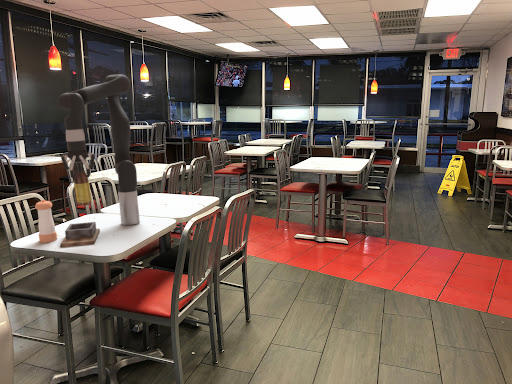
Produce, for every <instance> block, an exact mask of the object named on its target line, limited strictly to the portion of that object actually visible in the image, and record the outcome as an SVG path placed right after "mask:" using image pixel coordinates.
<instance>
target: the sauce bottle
mask: <svg viewBox="0 0 512 384" xmlns="http://www.w3.org/2000/svg"><path fill="white" fill-rule="evenodd" d="M84 169H85V168H84V164H83V162H74V167H73V170H74V179H73V178H72V179H73V180H72V182H73V185H74V186H73V187H74V193H75V199H76V203H77V205H78V206H80V207H86V206H90V205H91V204H92V203H93V202H92V199H93V198H92V193H91V189H90V188H91V187H90V182H89V177H87V172H85V170H84Z"/></svg>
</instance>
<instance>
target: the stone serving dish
mask: <svg viewBox="0 0 512 384" xmlns="http://www.w3.org/2000/svg"><path fill="white" fill-rule="evenodd" d="M100 232H101V230H100V228H99V227H98V228H97V223H96V221H89V222H78V223H70V224H69V225H68V226H67V227H66V229H65V230H64V234H65V236H64V238H63V239H62V240H61V242H60V244H59V245H60V248H65V247H66V248H67V247H76V246H78V247H79V246H86V245H88V246H89V245H95V244H96V241H97V239H98V238H99V237H98V236H99V235H100Z"/></svg>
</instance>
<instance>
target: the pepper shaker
mask: <svg viewBox="0 0 512 384" xmlns="http://www.w3.org/2000/svg"><path fill="white" fill-rule="evenodd" d="M52 207H53V203H52V202H51V201H49V200H45V199H41V201H38V202H36V204H35V206H34V208H35V209H36V210H37V215H38V226H37V227H38V232H39V233H38V239H39V240H38V241H39V243H45V244H46V243H53V242H55V241H57V240H58V235H57V231H56V228H55V227H56V226H55V222H54V218H53V214H52Z"/></svg>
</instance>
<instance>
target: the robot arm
mask: <svg viewBox="0 0 512 384" xmlns="http://www.w3.org/2000/svg"><path fill="white" fill-rule="evenodd" d="M130 89H131V81H130V79H129V77H128V76H127V75H125V74H110V75H107V76H106V77H105V79H104V82H103V83H102V82H101V83H98V84H97V83H96V84H92V85H89V86H86V87H83V88H80V89H78V90H73V91H68V92H63V93H62V94H61V95H59V96H58V98H57V104H58V106H59V107H60V109H62V110H65V111H69V114H68V115H67V116H65V117H64V126H65V141H66V147H67V154H66V155H62V156H61V157H60V158H61V159H60V160H61V162H62V164H63V167H64V168H63V169H65V170H67V171H69V174H70V178H72V179H74V174H75V169H74V162H83V166H85V169H86V170H85V171H86V172H85V173H86V174H87V177H88V178H90V176H91V174H92V173H91V169H92V168H93V167H94V166H95V153H88V151H87V144H86V138H85V136H86V135H85V131H84V125H83V115H84V108H85V105H90V104H92V103H94V102H97V101H99V100H103V99H104V98H106V100H107V105H108V111H109V118H110V119H109V121H110V122H109V123H110V129H111V136H112V144H113V148H114V149H113V150H114V170H115V173H116V174H117V178H118V179H117V180H118V185H117V193H118V203H119V214H120V215H119V216H120V222H121V223H120V224H121V225H123V226H132V225H133V226H134V225H137V224H140V220H141V218H140V209H139V200H138V199H139V198H138V187H137V186H138V177H137V176H138V175H137V173H138V172H137V167H136V165H135V163H134V162H132V160H131V153H130V152H131V151H130V146H131V145H130V144H131V134H132V133H131V130H132V129H131V124H130V119H129V117H128V115H127V113H126V112H125V111H124V109H123V107H122V105H121V102H120V97H119V95H122V94H123V95H124V94H126V93H128V92H129V91H130ZM88 157H89V159H90V164H89V163H88V161H87V158H88ZM68 159H69V160H70V161H71V162H70V165H68V162H67V160H68Z"/></svg>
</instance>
